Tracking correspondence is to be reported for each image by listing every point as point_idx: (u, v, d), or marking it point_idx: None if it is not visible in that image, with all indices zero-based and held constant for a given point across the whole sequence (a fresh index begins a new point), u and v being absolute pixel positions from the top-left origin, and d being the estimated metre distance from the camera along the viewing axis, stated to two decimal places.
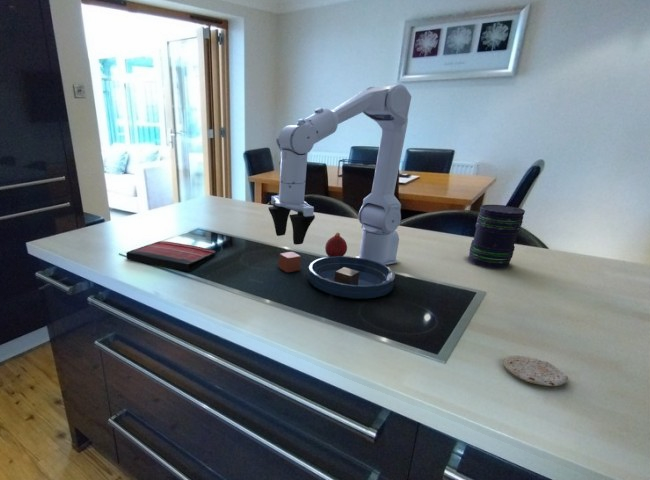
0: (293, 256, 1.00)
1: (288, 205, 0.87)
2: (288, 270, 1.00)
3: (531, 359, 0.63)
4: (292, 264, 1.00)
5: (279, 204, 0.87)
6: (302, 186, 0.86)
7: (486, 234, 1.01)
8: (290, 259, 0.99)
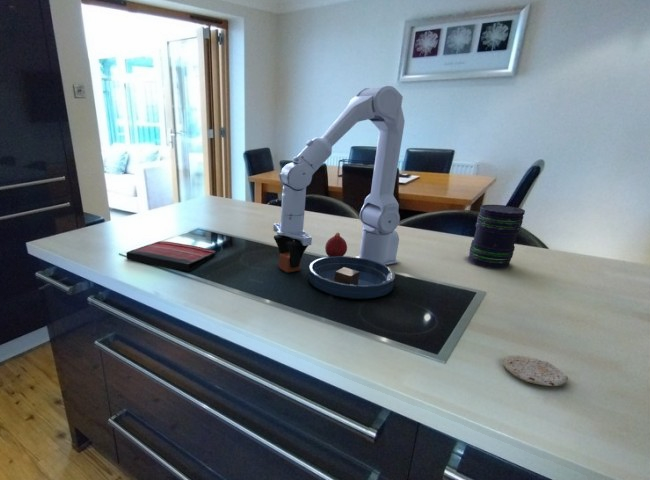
0: None
1: (289, 234, 0.96)
2: (288, 270, 1.00)
3: (531, 359, 0.63)
4: None
5: (280, 233, 0.96)
6: (301, 217, 0.95)
7: (486, 234, 1.01)
8: None
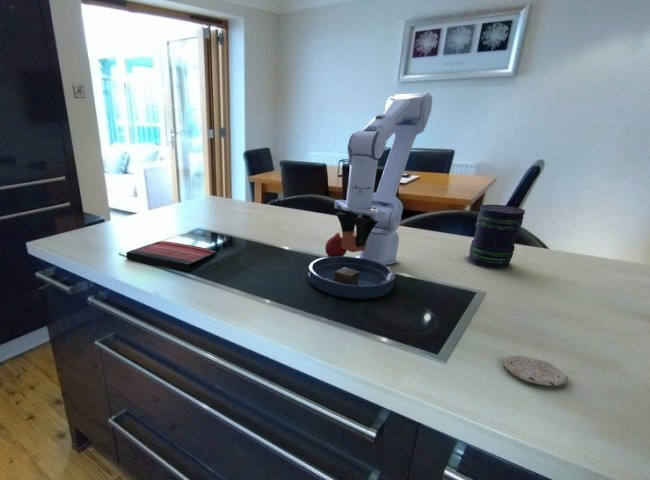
0: None
1: (357, 210, 0.88)
2: (353, 249, 0.92)
3: (531, 359, 0.63)
4: None
5: (348, 209, 0.88)
6: (372, 191, 0.87)
7: (486, 234, 1.01)
8: None
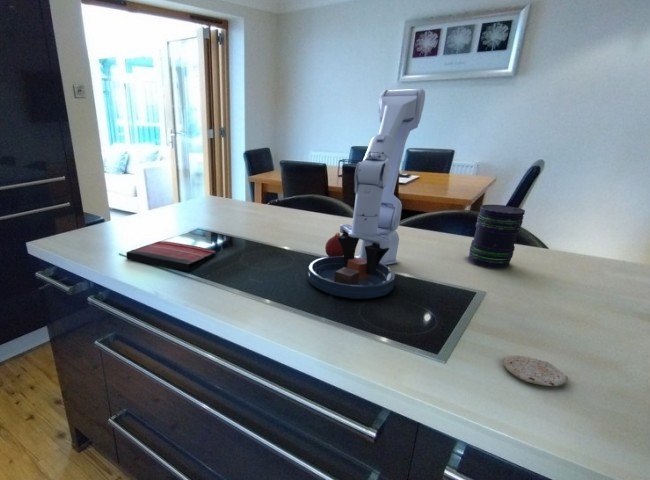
0: (364, 262, 0.94)
1: (363, 237, 0.89)
2: (359, 277, 0.94)
3: (531, 359, 0.63)
4: (363, 271, 0.94)
5: (354, 235, 0.90)
6: (377, 218, 0.89)
7: (486, 234, 1.01)
8: (361, 266, 0.93)
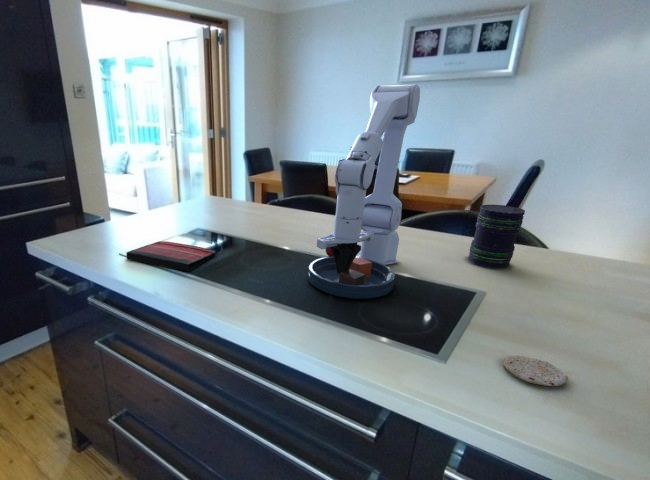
0: (364, 262, 0.94)
1: None
2: None
3: (531, 359, 0.63)
4: (363, 271, 0.94)
5: (332, 232, 0.90)
6: (341, 221, 0.84)
7: (486, 234, 1.01)
8: (361, 266, 0.93)
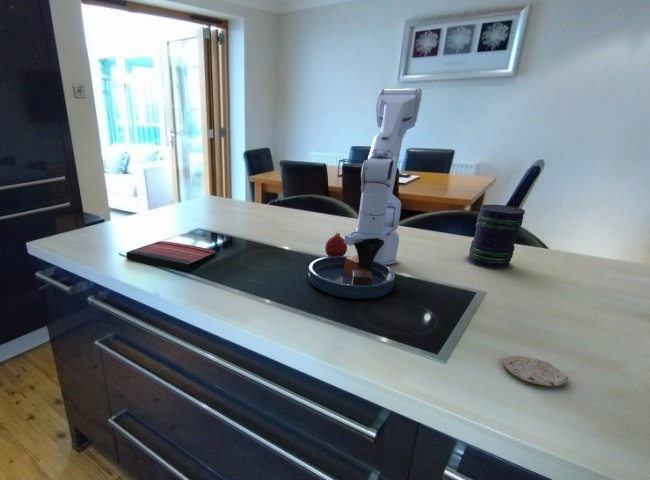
0: None
1: None
2: None
3: (531, 359, 0.63)
4: (360, 269, 0.95)
5: (354, 229, 0.93)
6: (367, 218, 0.87)
7: (486, 234, 1.01)
8: None
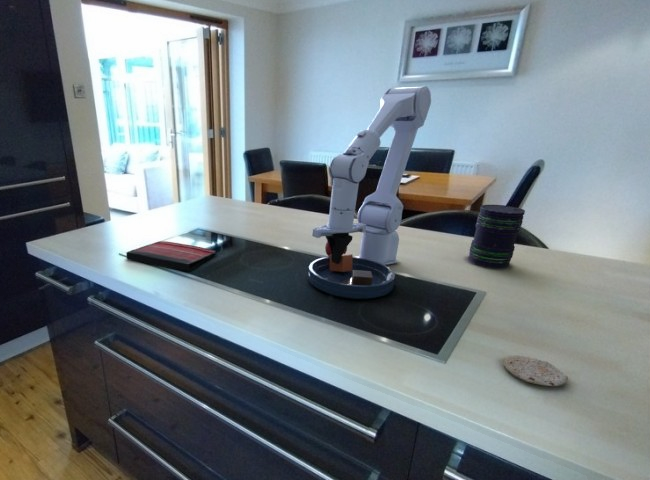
0: None
1: None
2: (330, 268, 0.98)
3: (531, 359, 0.63)
4: None
5: (327, 224, 0.96)
6: (335, 212, 0.90)
7: (486, 234, 1.01)
8: None
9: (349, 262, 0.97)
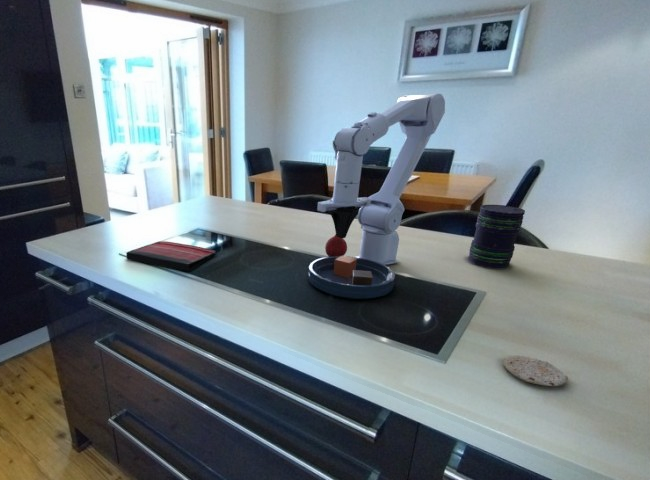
0: (343, 260, 0.95)
1: None
2: (334, 272, 0.97)
3: (531, 359, 0.63)
4: (339, 268, 0.96)
5: None
6: (340, 186, 0.90)
7: (486, 234, 1.01)
8: (337, 262, 0.96)
9: (353, 267, 0.96)
